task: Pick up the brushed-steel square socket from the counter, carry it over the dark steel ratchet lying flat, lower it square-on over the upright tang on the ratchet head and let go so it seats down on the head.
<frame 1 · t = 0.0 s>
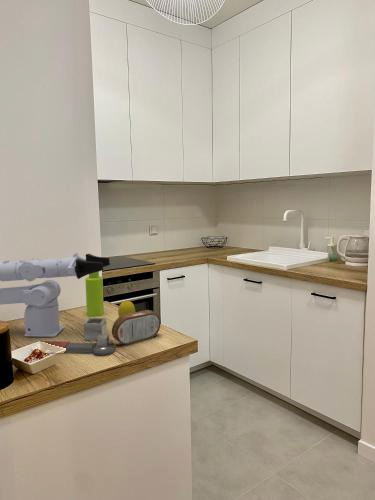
hand: (106, 263, 109), 22 cm above the countertop, tool horizontal, fingers open, 7 cm apart
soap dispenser: (96, 314, 131), on the countertop
tin: (137, 341, 107), on the countertop
lemon: (127, 323, 121), on the countertop
ratchet: (81, 351, 100), on the countertop
socket: (95, 336, 110), on the countertop
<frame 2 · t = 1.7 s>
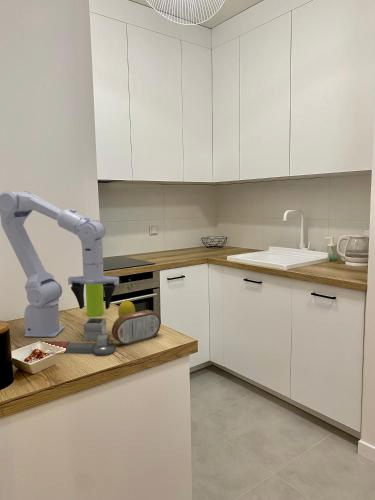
hand: (94, 307, 108), 9 cm above the countertop, tool pointing down, fingers open, 7 cm apart
nothing on the countertop moved.
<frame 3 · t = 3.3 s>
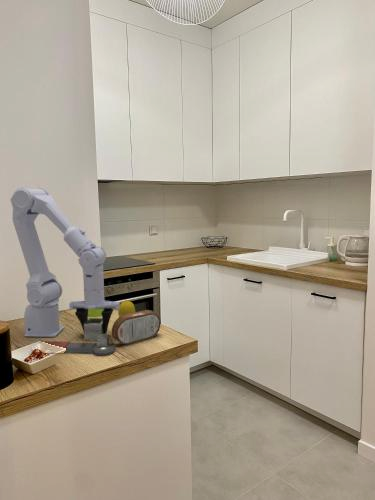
hand: (95, 332, 110), 1 cm above the countertop, tool pointing down, fingers closed on socket, 5 cm apart
socket: (95, 336, 110), on the countertop, touching gripper
everything else where it was.
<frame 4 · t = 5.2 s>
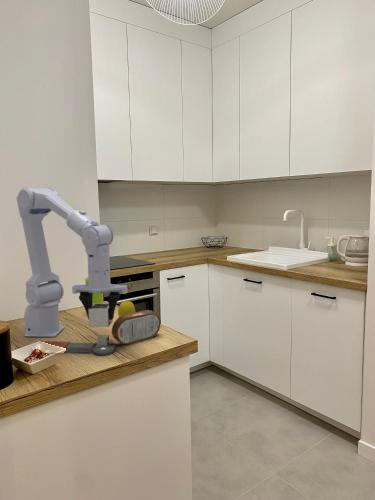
hand: (101, 318, 101), 9 cm above the countertop, tool pointing down, fingers closed on socket, 5 cm apart
socket: (101, 323, 101), point 7 cm above the countertop, touching gripper
everything else where it was.
when the fingers open (4 cm above the countertop, at t = 7.4 s): socket stays where it is, resting on ratchet.
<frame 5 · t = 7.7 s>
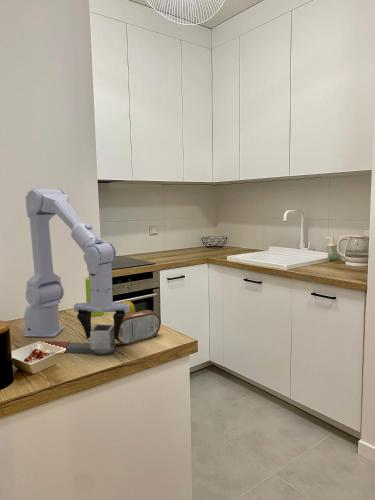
hand: (102, 337, 99), 4 cm above the countertop, tool pointing down, fingers open, 7 cm apart
ratchet: (82, 351, 100), on the countertop, touching socket
socket: (103, 345, 100), point 2 cm above the countertop, touching ratchet
everything else where it was.
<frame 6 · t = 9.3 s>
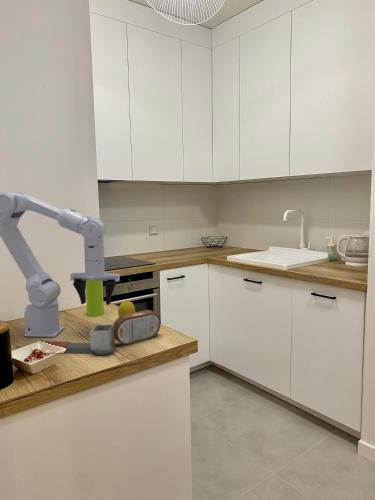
hand: (95, 303, 112), 9 cm above the countertop, tool pointing down, fingers open, 7 cm apart
nothing on the countertop moved.
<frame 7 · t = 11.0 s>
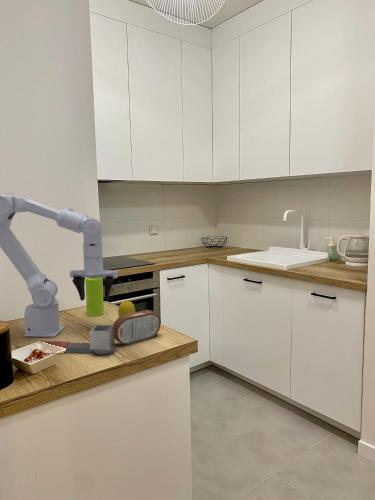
hand: (94, 299, 115), 9 cm above the countertop, tool pointing down, fingers open, 7 cm apart
nothing on the countertop moved.
at the end: socket 0.3 cm from the target spot on the ratchet, point 1.8 cm above the ratchet's base; socket tilted 0°; ratchet moved 0.2 cm from its start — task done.
